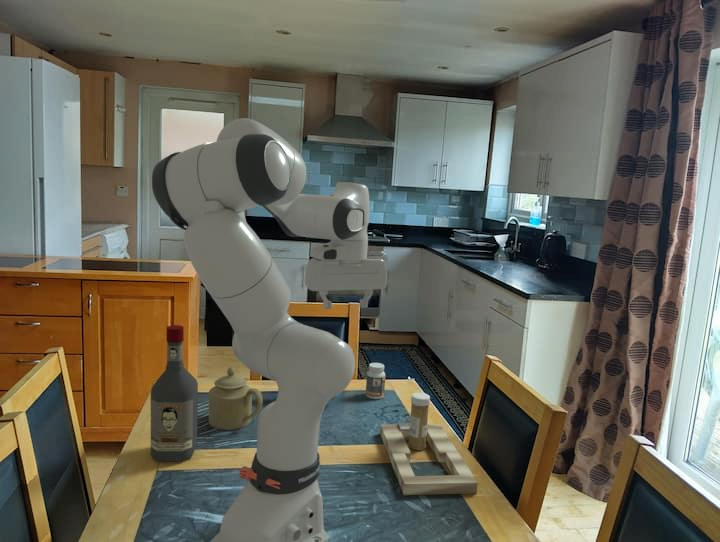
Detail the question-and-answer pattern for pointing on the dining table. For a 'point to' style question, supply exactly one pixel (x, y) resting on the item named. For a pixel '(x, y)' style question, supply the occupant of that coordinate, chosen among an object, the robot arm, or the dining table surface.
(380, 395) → the pill bottle
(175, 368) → the liquor
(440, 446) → the keyhole board
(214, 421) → the sugar bowl
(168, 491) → the dining table surface
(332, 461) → the dining table surface
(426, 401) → the sprinkles bottle
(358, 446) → the dining table surface
